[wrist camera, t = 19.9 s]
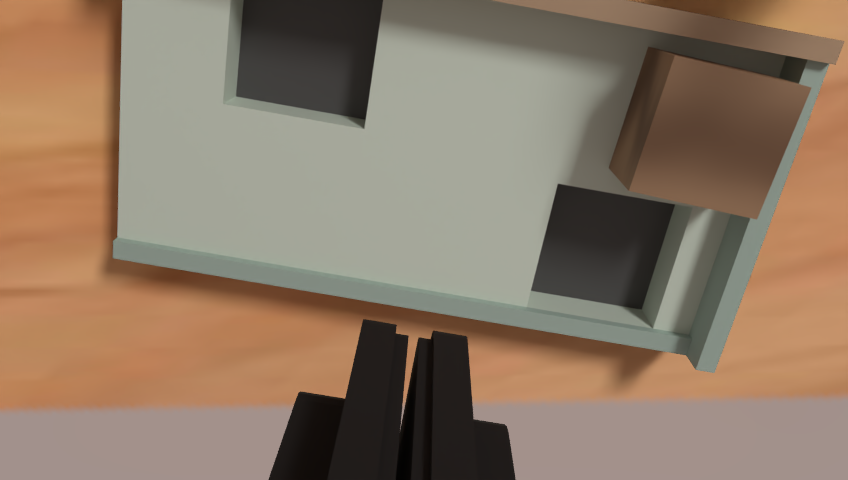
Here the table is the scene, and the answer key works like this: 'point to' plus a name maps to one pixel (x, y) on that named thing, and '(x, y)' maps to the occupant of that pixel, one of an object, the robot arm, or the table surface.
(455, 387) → the robot arm
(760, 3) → the table surface
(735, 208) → the walnut block
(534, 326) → the board
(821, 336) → the table surface
